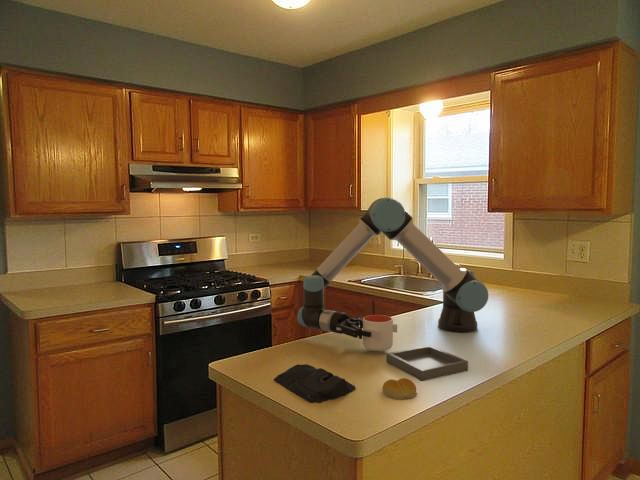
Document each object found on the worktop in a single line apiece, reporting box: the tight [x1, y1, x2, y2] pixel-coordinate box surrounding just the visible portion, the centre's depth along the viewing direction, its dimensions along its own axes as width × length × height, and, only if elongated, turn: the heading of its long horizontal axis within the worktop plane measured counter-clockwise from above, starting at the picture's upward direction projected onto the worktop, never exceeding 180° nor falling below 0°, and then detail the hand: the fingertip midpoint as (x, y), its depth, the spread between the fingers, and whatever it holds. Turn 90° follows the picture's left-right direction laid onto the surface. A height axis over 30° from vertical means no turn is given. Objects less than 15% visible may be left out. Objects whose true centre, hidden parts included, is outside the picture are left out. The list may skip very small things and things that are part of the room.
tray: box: [385, 344, 469, 382], centre depth 146 cm, size 17×17×3 cm
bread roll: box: [381, 377, 418, 401], centre depth 126 cm, size 8×9×4 cm
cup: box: [362, 314, 394, 352], centre depth 161 cm, size 10×10×10 cm
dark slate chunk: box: [273, 363, 357, 404], centre depth 132 cm, size 15×22×5 cm
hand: (388, 332), depth 158 cm, fingers closed on cup, 10 cm apart
